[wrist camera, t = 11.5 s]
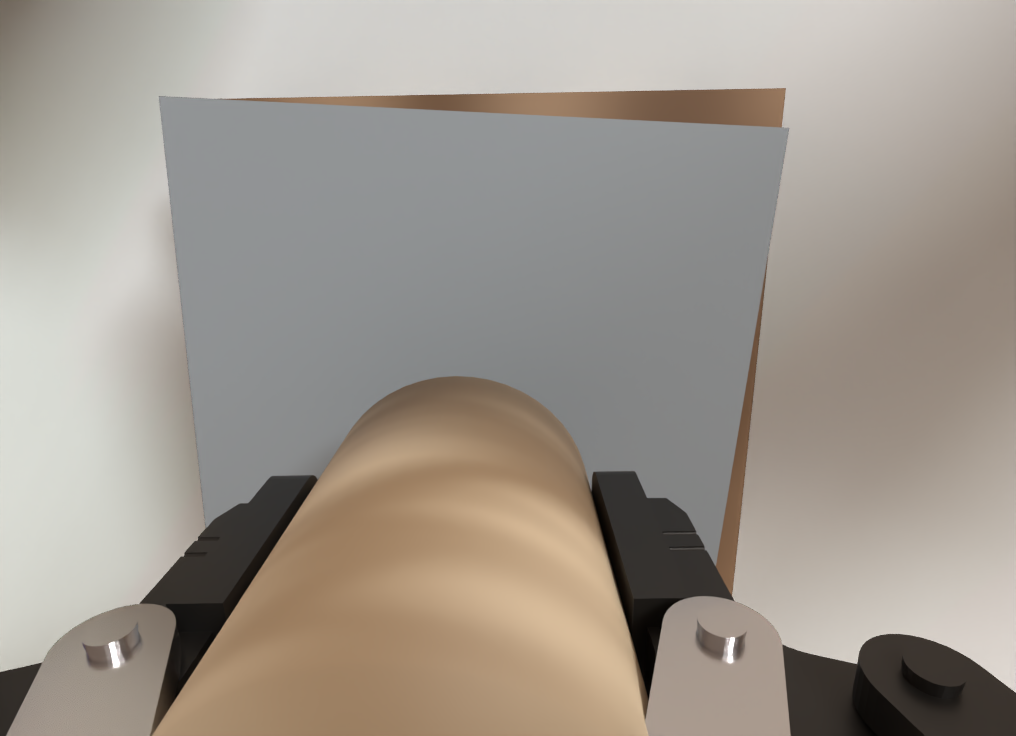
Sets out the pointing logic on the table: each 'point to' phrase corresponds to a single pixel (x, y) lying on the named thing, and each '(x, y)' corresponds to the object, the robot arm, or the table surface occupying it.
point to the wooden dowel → (431, 589)
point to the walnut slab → (627, 105)
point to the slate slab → (468, 280)
